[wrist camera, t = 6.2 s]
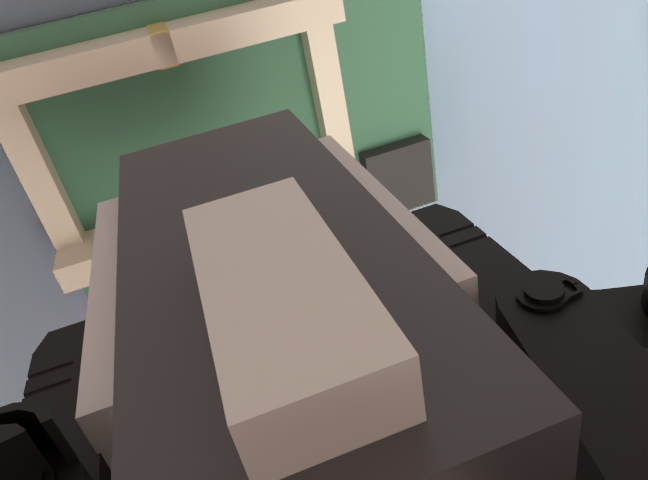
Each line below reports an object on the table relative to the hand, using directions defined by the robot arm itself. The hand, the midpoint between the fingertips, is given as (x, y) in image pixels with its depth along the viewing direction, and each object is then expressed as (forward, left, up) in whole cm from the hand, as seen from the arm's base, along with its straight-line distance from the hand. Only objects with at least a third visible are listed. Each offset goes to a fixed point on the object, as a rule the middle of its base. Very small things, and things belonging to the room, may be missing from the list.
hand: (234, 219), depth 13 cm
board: (+2, -1, -11) cm, 11 cm away
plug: (0, 0, -1) cm, 1 cm away
